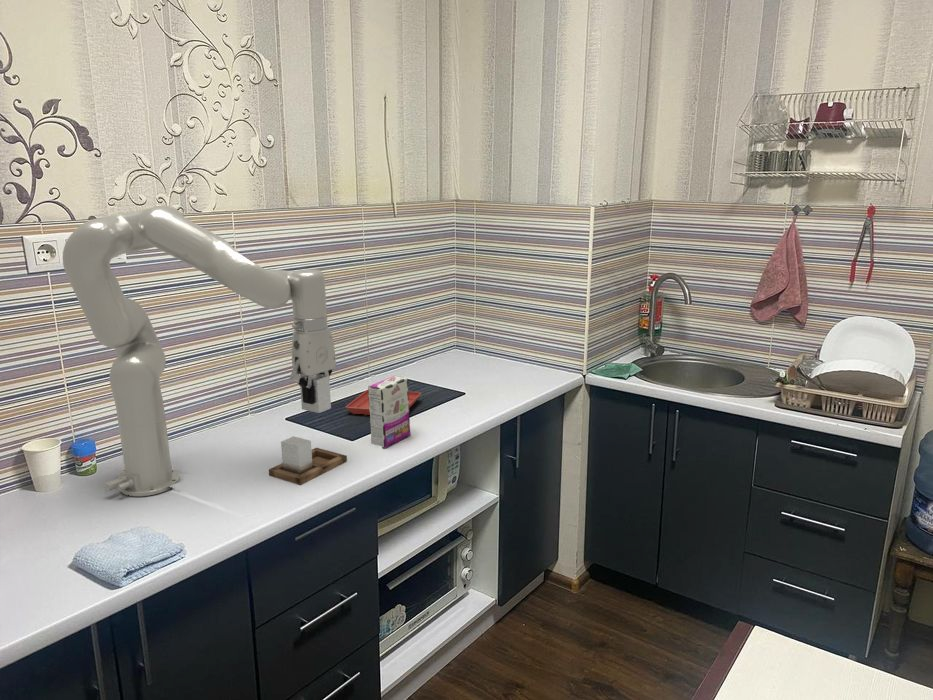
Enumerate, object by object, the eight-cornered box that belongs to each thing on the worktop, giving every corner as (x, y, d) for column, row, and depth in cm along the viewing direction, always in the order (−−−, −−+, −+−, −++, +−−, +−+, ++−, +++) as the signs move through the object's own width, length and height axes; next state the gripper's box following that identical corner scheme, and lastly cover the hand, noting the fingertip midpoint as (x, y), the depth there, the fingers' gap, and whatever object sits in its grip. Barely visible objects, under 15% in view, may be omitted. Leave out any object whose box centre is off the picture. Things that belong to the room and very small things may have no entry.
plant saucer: (344, 417, 201) (344, 406, 200) (368, 398, 218) (367, 388, 217) (403, 421, 197) (402, 410, 196) (422, 402, 214) (422, 392, 213)
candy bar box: (396, 432, 188) (394, 374, 184) (410, 435, 185) (409, 377, 181) (369, 445, 178) (367, 385, 174) (384, 449, 176) (382, 388, 172)
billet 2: (319, 413, 159) (316, 380, 157) (301, 409, 161) (299, 376, 160) (331, 408, 162) (329, 375, 160) (314, 404, 165) (311, 372, 163)
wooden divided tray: (300, 489, 153) (299, 478, 153) (269, 479, 159) (268, 469, 158) (347, 465, 166) (346, 455, 166) (317, 456, 171) (316, 447, 171)
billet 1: (300, 479, 156) (298, 446, 154) (283, 474, 159) (280, 441, 157) (313, 473, 160) (310, 440, 158) (296, 468, 162) (293, 436, 160)
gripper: (295, 333, 148) (301, 413, 152) (347, 319, 162) (351, 393, 166) (271, 329, 152) (277, 407, 156) (324, 316, 166) (328, 388, 170)
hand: (315, 399), depth 161 cm, fingers closed on billet 2, 4 cm apart
